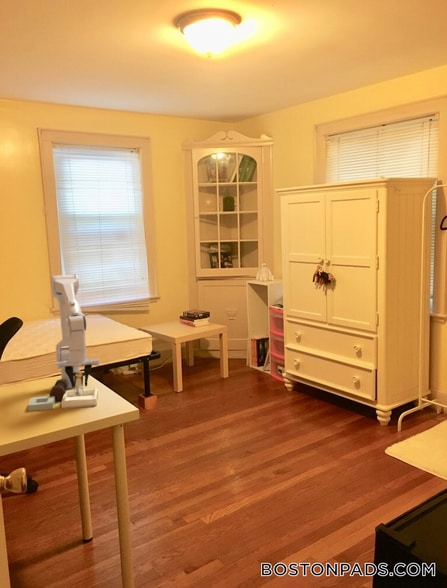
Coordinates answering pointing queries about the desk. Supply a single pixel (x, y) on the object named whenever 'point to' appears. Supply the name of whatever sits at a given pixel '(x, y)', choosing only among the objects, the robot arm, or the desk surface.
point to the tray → (80, 399)
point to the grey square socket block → (41, 403)
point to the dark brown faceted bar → (58, 389)
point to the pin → (78, 383)
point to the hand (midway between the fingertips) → (79, 386)
